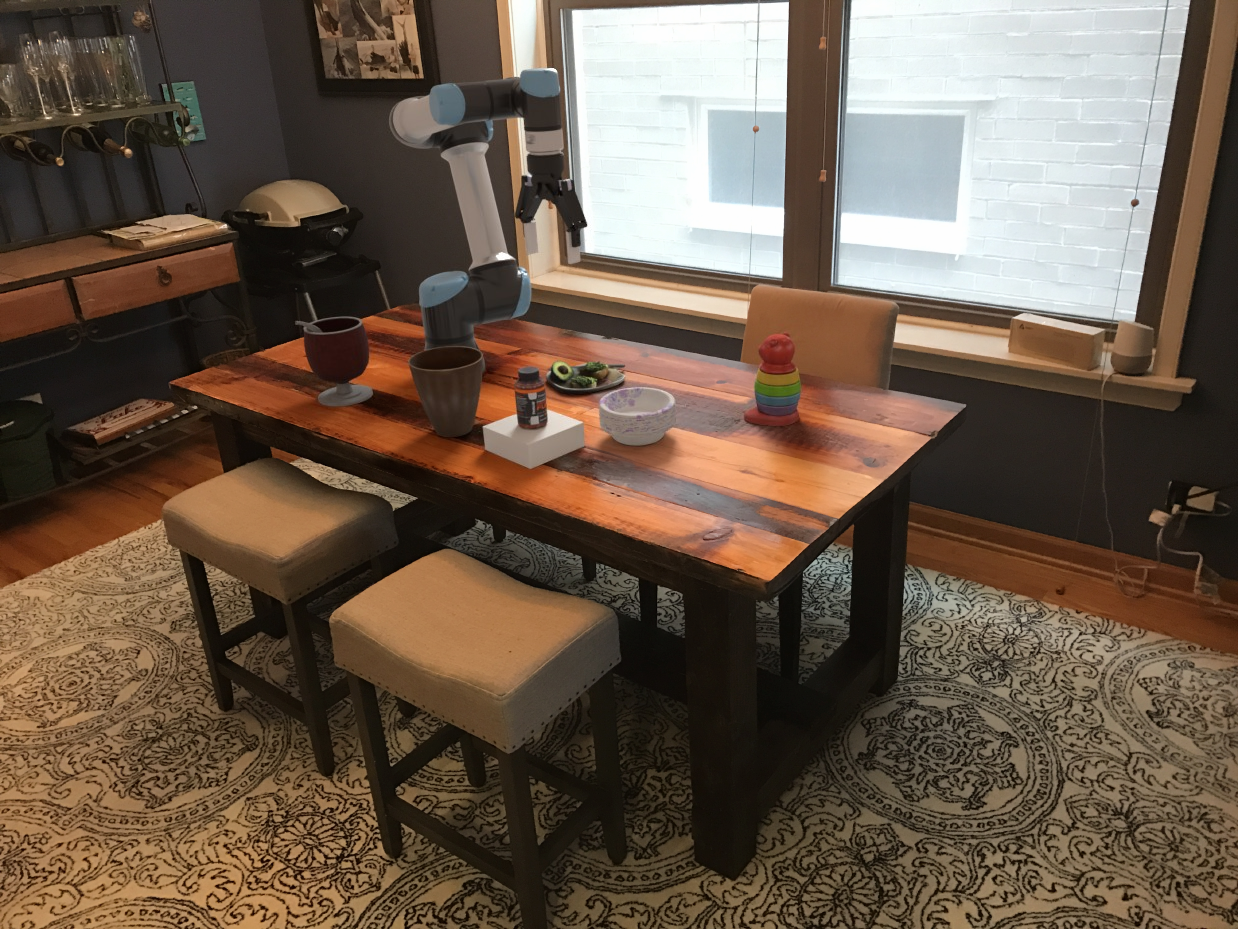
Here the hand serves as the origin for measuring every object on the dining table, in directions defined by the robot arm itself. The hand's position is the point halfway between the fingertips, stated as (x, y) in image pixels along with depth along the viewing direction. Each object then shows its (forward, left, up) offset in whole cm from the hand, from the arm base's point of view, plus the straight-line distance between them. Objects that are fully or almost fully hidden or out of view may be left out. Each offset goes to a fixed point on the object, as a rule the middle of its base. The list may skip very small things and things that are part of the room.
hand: (552, 258), depth 205 cm
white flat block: (+16, -21, -32) cm, 41 cm away
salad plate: (-5, +11, -32) cm, 34 cm away
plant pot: (-4, -26, -32) cm, 41 cm away
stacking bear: (+43, +21, -32) cm, 57 cm away
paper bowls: (+28, -4, -32) cm, 42 cm away
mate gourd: (-41, -31, -32) cm, 61 cm away
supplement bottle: (+16, -21, -27) cm, 38 cm away
